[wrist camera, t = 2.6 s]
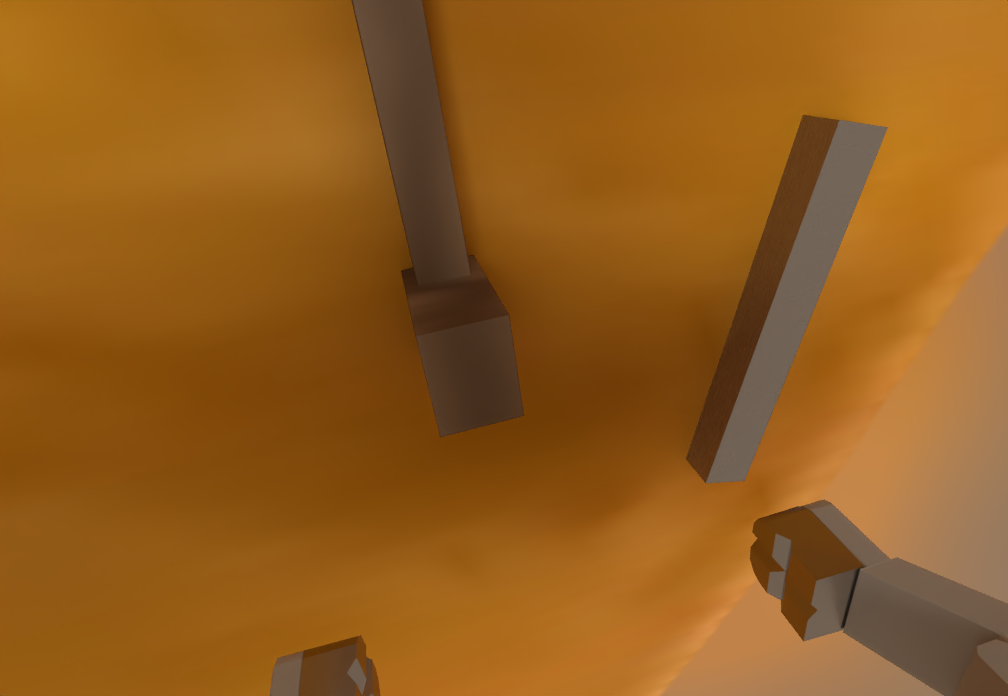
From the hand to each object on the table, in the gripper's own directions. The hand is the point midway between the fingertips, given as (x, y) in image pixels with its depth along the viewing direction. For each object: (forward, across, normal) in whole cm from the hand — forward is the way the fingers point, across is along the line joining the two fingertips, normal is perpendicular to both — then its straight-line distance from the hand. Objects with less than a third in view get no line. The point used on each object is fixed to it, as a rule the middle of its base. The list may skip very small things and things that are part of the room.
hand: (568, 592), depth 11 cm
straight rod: (+15, -14, +4) cm, 21 cm away
